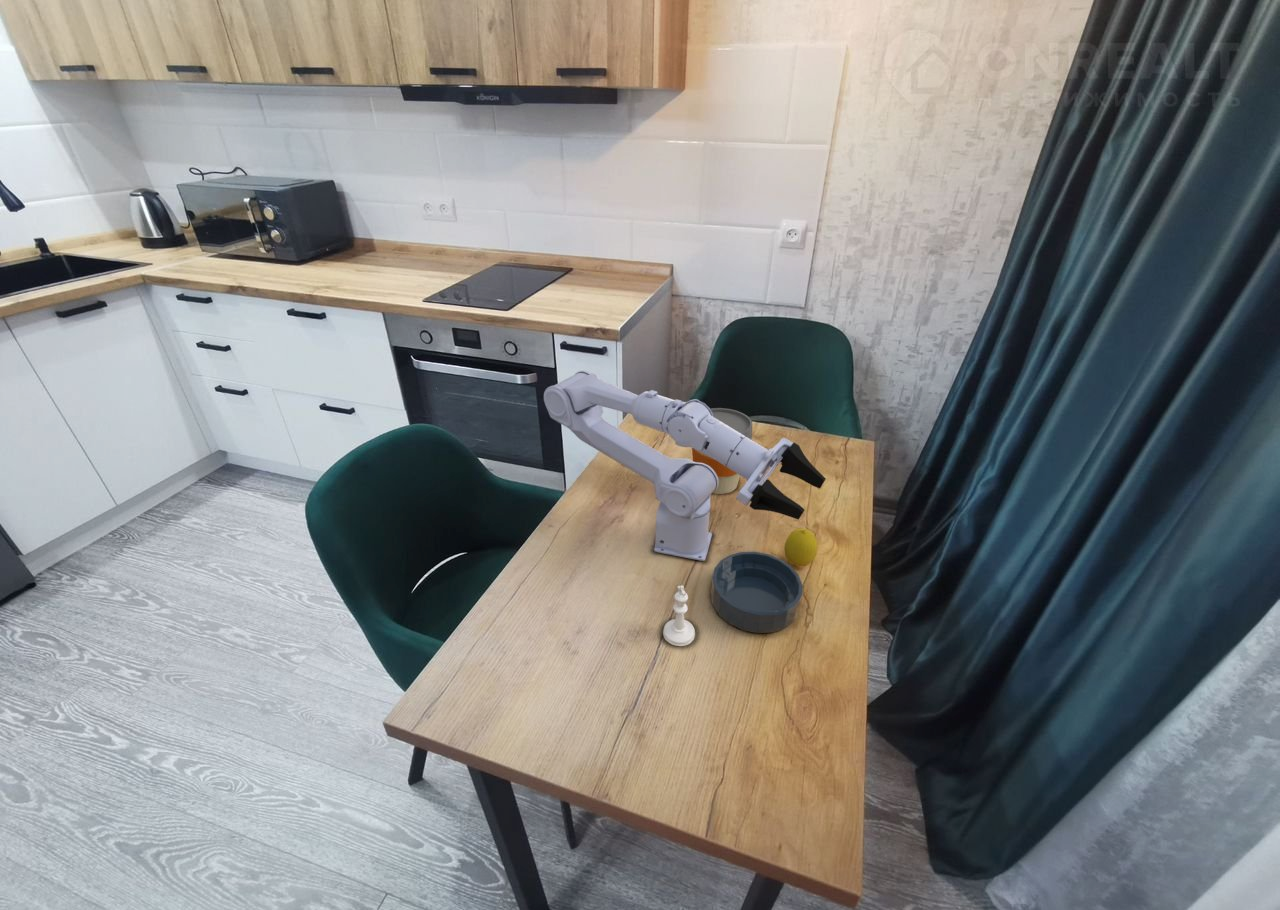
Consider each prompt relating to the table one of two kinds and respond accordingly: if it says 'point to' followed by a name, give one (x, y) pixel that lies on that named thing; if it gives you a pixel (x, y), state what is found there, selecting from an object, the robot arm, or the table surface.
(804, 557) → the lemon
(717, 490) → the reusable coffee cup
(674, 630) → the chess piece
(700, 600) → the table surface
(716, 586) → the bowl
